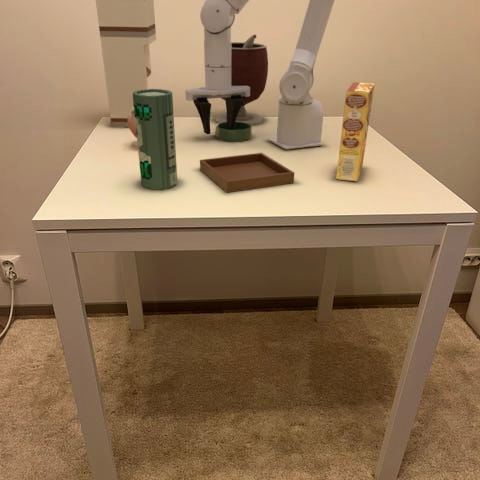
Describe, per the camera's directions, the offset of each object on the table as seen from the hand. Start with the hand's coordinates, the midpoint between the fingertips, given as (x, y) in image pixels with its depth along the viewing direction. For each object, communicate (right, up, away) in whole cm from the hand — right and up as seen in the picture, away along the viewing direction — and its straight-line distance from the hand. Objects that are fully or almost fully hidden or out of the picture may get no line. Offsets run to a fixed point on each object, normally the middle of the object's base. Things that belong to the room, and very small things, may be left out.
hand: (218, 132), depth 112 cm
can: (-9, -19, -24) cm, 32 cm away
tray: (+6, -16, -20) cm, 27 cm away
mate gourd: (+5, +9, +15) cm, 18 cm away
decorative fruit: (-15, -5, -5) cm, 16 cm away
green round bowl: (+3, 0, +2) cm, 4 cm away
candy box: (+26, -15, -18) cm, 35 cm away
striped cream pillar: (-21, +7, +13) cm, 26 cm away
